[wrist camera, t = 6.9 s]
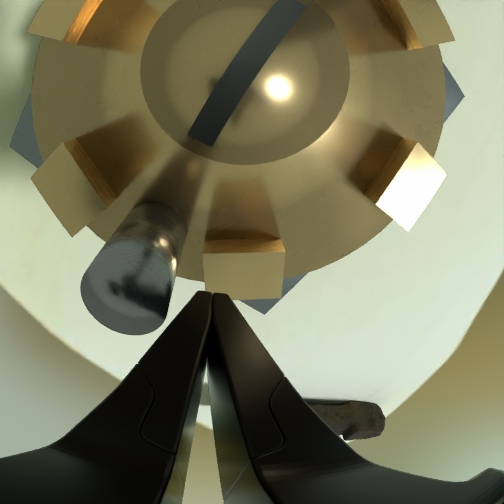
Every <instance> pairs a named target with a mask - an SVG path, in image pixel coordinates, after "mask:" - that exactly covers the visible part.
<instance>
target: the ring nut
mask: <svg viewBox="0 0 504 504" xmlns="http://www.w3.org/2000/svg"><path fill="white" fill-rule="evenodd" d="M26 33H30V34H35V35H39V36H43V38H42V41H41V43H40V46H39V49H38V53H37V57H36V62H35V67H34V72H33V78H32V99H31V105H32V116H33V125H34V131H35V135H36V139H37V143H38V147H39V151H40V154H41V156H42V159H43V161H44V163H43V164H42V165H41V166H40V167H39V168H38V169H37V171H36V172H35V173H34V174H33V175H32V177H31V180H32V181H33V183H34V185H35V186H36V188H37V189H38V191H39V192H40V194H41V195H42V197H43V198H44V200H45V201H46V203H47V204H48V205H49V207H50V208H51V210H52V211H53V213H54V214H55V215H56V217H57V218H58V220H59V221H60V222H61V224H62V225H63V226H64V228H65V229H66V230H67V232H68V233H69V234H70V236H71V237H73V236H74V235H75V234H77V233H78V232H79V231H80V230H81V229H82V228H84V227H85V226H87V227H89V228H90V229H91V230H92V231H93V232H94V233H95V234H96V235H97V236H98V237H100V238H101V239H102V240H104V241H105V242H106V244H105V245H104V246H103V248H102V249H101V250H100V252H99V253H98V255H97V256H96V257H95V259H94V260H93V262H92V263H91V265H90V266H89V268H88V269H87V270H86V272H85V273H84V275H83V277H82V280H81V296H82V299H83V302H84V304H85V306H86V308H87V309H88V311H89V312H90V313H91V315H92V316H93V317H94V318H95V319H96V320H97V321H99V322H100V323H101V324H103V325H104V326H106V327H107V328H109V329H111V330H113V331H116V332H119V333H122V334H127V335H144V334H148V333H150V332H153V331H155V330H156V329H158V328H159V327H160V326H161V325H162V324H163V322H164V321H165V319H166V316H167V312H168V308H169V303H170V299H171V295H172V290H173V286H174V282H175V278H176V276H178V277H182V278H186V279H189V280H196V281H202V282H205V291H208V292H211V293H212V295H213V293H214V292H217V293H226V294H228V295H229V297H230V298H231V300H251V299H276V298H281V295H282V285H283V279H286V278H291V277H295V276H298V275H301V274H304V273H308V272H311V271H314V270H317V269H319V268H322V267H324V266H326V265H328V264H330V263H333V262H335V261H337V260H339V259H341V258H343V257H345V256H346V255H348V254H350V253H351V252H353V251H355V250H356V249H358V248H360V247H361V246H363V245H364V244H365V243H367V242H368V241H369V240H371V239H372V238H373V237H374V236H376V235H377V234H378V233H379V232H381V231H382V230H383V229H384V228H385V227H386V226H387V225H388V224H389V223H390V222H391V221H392V220H393V219H394V220H396V221H397V222H398V223H399V224H400V225H402V226H403V227H404V228H405V229H406V230H407V231H408V230H409V229H410V228H411V226H412V225H413V224H414V222H415V221H416V219H417V218H418V217H419V215H420V214H421V212H422V211H423V209H424V208H425V207H426V205H427V204H428V202H429V201H430V199H431V198H432V196H433V195H434V193H435V192H436V190H437V189H438V187H439V185H440V184H441V182H442V181H443V179H444V178H445V176H446V173H445V172H444V171H443V170H442V169H441V167H440V166H439V165H438V164H437V163H436V162H435V160H434V159H433V157H434V155H435V152H436V149H437V146H438V142H439V139H440V135H441V131H442V127H443V120H444V112H445V75H444V68H443V61H442V56H441V53H440V49H439V45H438V44H441V43H445V42H450V41H455V39H454V36H453V34H452V32H451V30H450V27H449V25H448V23H447V21H446V19H445V17H444V15H443V13H442V11H441V9H440V7H439V5H438V3H437V1H436V0H44V2H43V3H42V5H41V7H40V8H39V10H38V12H37V14H36V15H35V17H34V19H33V21H32V23H31V25H30V27H29V28H28V30H27V32H26Z"/></svg>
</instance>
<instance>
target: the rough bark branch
mask: <svg viewBox="0 0 504 504" xmlns="http://www.w3.org/2000/svg"><path fill="white" fill-rule="evenodd" d="M309 406H310V407H311V408H312V409H313V410H314V412H315V413H316V414H317V415H318V416H319V417H320V418H321V419H322V420H323V421H324V422H325V423H326V424H327V425H328V426H329V427H330V428H331V429H332V430H333V431H334V432H335V433H336V434H337V435H338V436H339V435H343V439H344V440H354V439H367V438H371V437H376V436H379V435H381V432H382V431H383V430H384V426H385V416H384V415H383V412H382V410H381V408H380V407H379V406H378V405H377V404H373V403H369V402H359V401H348V402H346V403H344V404H343V405H320V404H316V405H309Z"/></svg>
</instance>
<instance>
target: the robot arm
mask: <svg viewBox="0 0 504 504" xmlns="http://www.w3.org/2000/svg"><path fill="white" fill-rule="evenodd" d="M206 363H207V376H208V387H209V397H210V406H211V415H212V424H213V432H214V440H215V448H216V455H217V463H218V469H219V476H220V483H221V488H222V495H223V500H224V504H504V471H502V470H497V469H494V468H488V469H486V470H484V471H483V472H481V473H480V474H478V475H476V476H475V477H473V478H471V479H470V480H468V481H464V482H450V481H442V480H437V479H432V478H426V477H422V476H418V475H414V474H410V473H406V472H402V471H398V470H394V469H391V468H387V467H384V466H380V465H377V464H375V463H373V462H370V461H369V460H367V459H365V458H363V457H362V456H361V455H359V454H358V453H357V452H355V451H354V450H353V449H352V448H351V447H350V446H349V445H348V444H347V443H346V442H345V441H344V440H343V439H341V438H340V437H339V436H338V435H337V434H336V433H335V432H334V431H333V430H332V429H331V428H330V427H329V426H328V425H327V424H326V423H325V422H324V421H323V420H322V419H321V418H320V417H319V416H318V415H317V414H316V413H315V412H314V410H313V409H312V408H311V407H310V406H309V405H308V404H307V403H306V402H305V401H304V399H303V398H302V397H301V396H300V394H299V393H298V392H297V391H296V389H295V388H294V387H293V386H292V384H291V383H290V381H289V380H288V379H287V377H284V373H283V372H282V371H281V369H280V368H279V367H278V365H277V364H276V362H275V361H274V360H273V358H272V357H271V356H270V354H269V353H268V351H267V350H266V349H265V347H264V346H263V344H262V343H261V341H260V340H259V339H258V337H257V336H256V334H255V333H254V332H253V330H252V329H251V327H250V326H249V324H248V323H247V321H246V320H245V319H244V317H243V316H242V314H241V313H240V311H239V310H238V308H237V307H236V305H235V304H234V303H233V301H232V300H231V298H230V297H229V295H228V294H226V293H217V292H214V293H213V295H212V293H211V292H208V291H197V292H196V293H195V295H194V296H193V297H192V298H191V299H190V301H189V302H188V303H187V304H186V305H185V306H184V308H183V309H182V310H181V311H180V312H179V314H178V315H177V316H176V317H175V318H174V320H173V321H172V322H171V323H170V324H169V326H168V327H167V328H166V329H165V330H164V332H163V333H162V334H161V335H160V336H159V338H158V339H157V340H156V341H155V342H154V344H153V345H152V346H151V347H150V348H149V350H148V351H147V352H146V353H145V354H144V356H143V357H142V358H141V359H140V360H139V362H138V364H136V365H135V366H134V368H133V369H132V370H131V371H130V372H129V374H128V375H127V376H126V377H125V378H124V379H123V380H122V382H121V383H120V384H119V385H118V386H117V387H116V388H115V389H114V391H112V393H110V394H109V395H108V396H107V397H106V398H105V399H104V400H103V401H102V402H101V403H100V404H99V405H98V406H97V407H96V408H94V409H93V410H92V411H91V412H90V413H89V414H88V415H87V416H86V417H85V418H83V419H82V420H81V421H80V422H79V423H78V424H77V425H76V426H75V427H74V428H73V429H71V430H70V432H68V433H67V434H66V435H65V436H63V437H62V438H61V439H59V440H58V441H56V442H54V443H52V444H50V445H48V446H46V447H43V448H40V449H36V450H32V451H28V452H24V453H20V454H17V455H12V456H8V457H3V458H0V504H182V498H183V493H184V487H185V481H186V475H187V468H188V462H189V458H190V452H191V446H192V440H193V435H194V429H195V424H196V418H197V413H198V408H199V402H200V397H201V392H202V386H203V381H204V376H205V370H206Z"/></svg>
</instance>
